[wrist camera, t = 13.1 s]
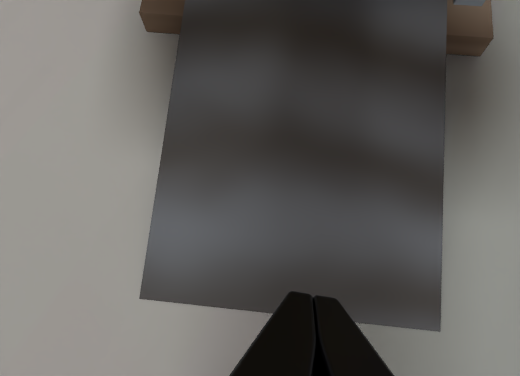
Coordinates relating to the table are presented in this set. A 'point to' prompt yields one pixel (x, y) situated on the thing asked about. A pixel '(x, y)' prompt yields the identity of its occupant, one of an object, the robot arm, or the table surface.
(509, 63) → the table surface
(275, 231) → the dock
